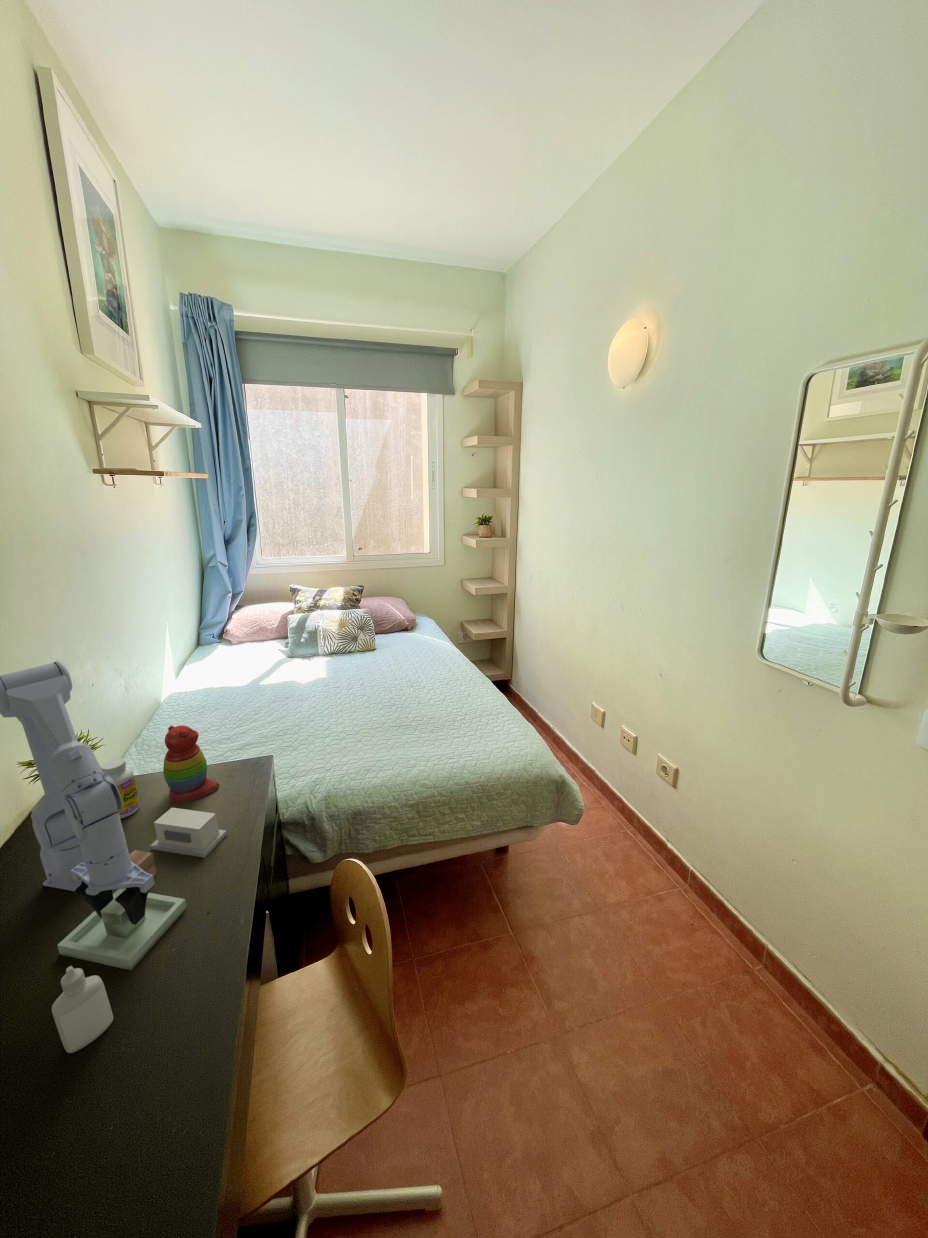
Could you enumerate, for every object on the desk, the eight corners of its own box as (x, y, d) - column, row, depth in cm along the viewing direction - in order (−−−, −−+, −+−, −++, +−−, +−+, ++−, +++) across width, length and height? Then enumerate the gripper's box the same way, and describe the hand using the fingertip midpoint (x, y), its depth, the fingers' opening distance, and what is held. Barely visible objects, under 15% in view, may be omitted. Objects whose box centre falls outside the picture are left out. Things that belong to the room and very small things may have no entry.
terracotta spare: (122, 886, 95) (117, 865, 93) (139, 871, 98) (134, 850, 97) (140, 889, 94) (135, 868, 92) (156, 873, 98) (152, 852, 96)
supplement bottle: (128, 820, 113) (116, 771, 109) (100, 820, 113) (87, 772, 110) (147, 802, 119) (136, 755, 116) (120, 802, 120) (108, 755, 116)
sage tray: (60, 954, 81) (57, 945, 80) (122, 896, 92) (120, 887, 92) (131, 970, 78) (128, 960, 78) (186, 908, 89) (184, 899, 89)
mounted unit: (151, 849, 104) (145, 825, 102) (176, 827, 111) (171, 804, 109) (204, 857, 101) (199, 833, 100) (227, 834, 108) (222, 811, 106)
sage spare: (106, 934, 84) (100, 911, 82) (126, 915, 88) (120, 892, 86) (126, 938, 83) (120, 915, 82) (145, 918, 87) (140, 896, 85)
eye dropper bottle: (110, 1039, 69) (90, 974, 65) (60, 1059, 66) (37, 992, 63) (116, 1010, 72) (98, 946, 69) (69, 1027, 70) (48, 963, 67)
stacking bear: (222, 787, 125) (211, 724, 120) (181, 809, 117) (167, 742, 112) (200, 774, 131) (189, 713, 126) (160, 793, 123) (146, 729, 118)
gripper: (45, 862, 78) (66, 929, 82) (121, 876, 75) (139, 944, 79) (86, 832, 85) (103, 895, 89) (157, 843, 82) (172, 908, 86)
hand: (122, 916), depth 84 cm, fingers open, 6 cm apart
